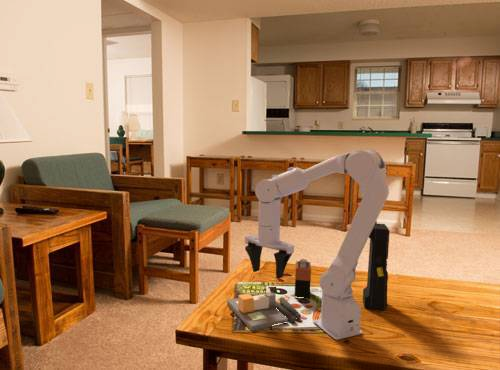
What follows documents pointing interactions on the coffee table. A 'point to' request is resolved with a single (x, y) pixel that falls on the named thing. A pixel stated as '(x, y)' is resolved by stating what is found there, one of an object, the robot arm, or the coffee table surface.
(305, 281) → the battery
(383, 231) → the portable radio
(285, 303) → the dark grey rounded rod
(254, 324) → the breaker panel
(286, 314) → the dark grey rod
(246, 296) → the lever
